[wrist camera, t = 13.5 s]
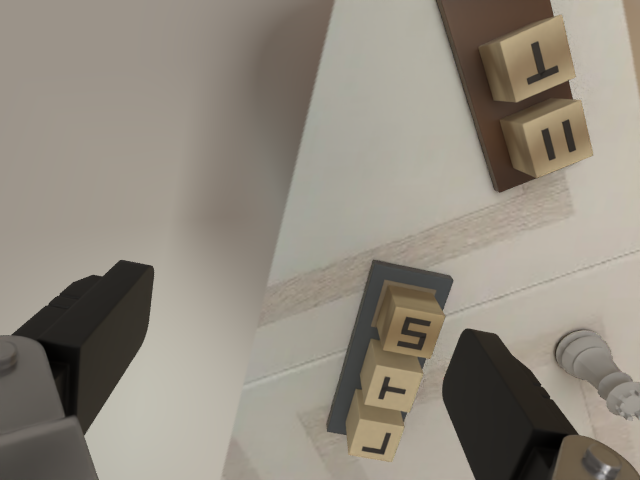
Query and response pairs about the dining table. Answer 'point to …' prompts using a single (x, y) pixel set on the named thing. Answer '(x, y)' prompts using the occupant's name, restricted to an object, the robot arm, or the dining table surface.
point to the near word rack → (517, 86)
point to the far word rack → (380, 369)
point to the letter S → (409, 322)
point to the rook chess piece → (599, 371)
